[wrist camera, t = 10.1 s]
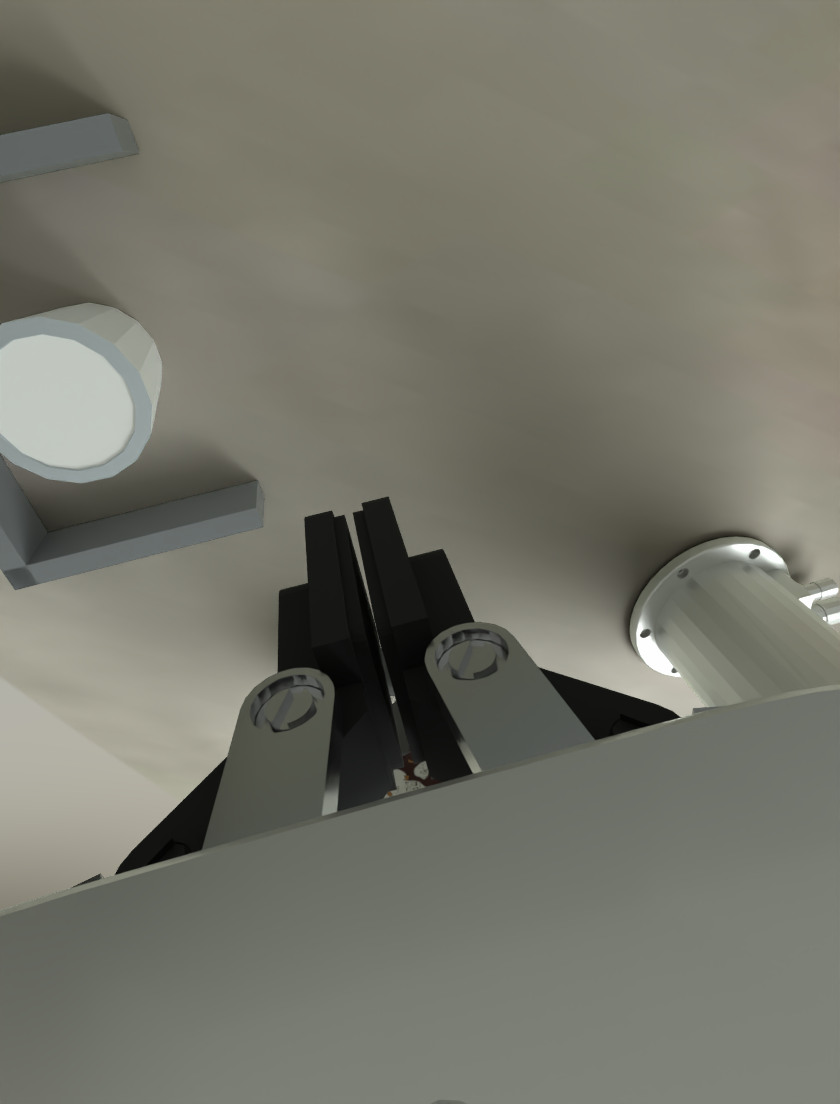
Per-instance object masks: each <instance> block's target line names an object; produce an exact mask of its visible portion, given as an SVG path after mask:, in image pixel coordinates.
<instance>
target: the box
mask: <svg viewBox="0 0 840 1104" xmlns="http://www.w3.org/2000/svg"><path fill="white" fill-rule="evenodd" d="M134 154H139V151H138V148H137V145H136V142H135V139H134V137H133V134H132V131H131V128H130V126H129V123H128V120H126V119H123V118H120V117H118V116H115V115H112V114H110V113H106V114H101V115H96V116H91V117H86V118H82V119H77V120H72V121H67V122H62V123H57V124H52V125H47V126H42V127H37V128H33V129H28V130H23V131H18V132H13V133H8V134H3V135H0V183H1V182H5V181H10V180H15V179H20V178H24V177H29V176H34V175H39V174H44V173H48V172H53V171H58V170H63V169H67V168H72V167H77V166H82V165H87V164H91V163H96V162H101V161H106V160H110V159H115V158H120V157H125V156H130V155H134ZM263 519H264V496H263V493H262V490H261V488H260V485H259V482H258V480H257V481H253V482H249V483H245V484H241V485H236V486H232V487H228V488H224V489H220V490H216V491H212V492H208V493H204V494H200V495H196V496H192V497H188V498H184V499H180V500H176V501H172V502H168V503H164V504H160V505H156V506H152V507H148V508H144V509H140V510H136V511H132V512H128V513H124V514H120V515H116V516H112V517H108V518H104V519H100V520H96V521H92V522H88V523H84V524H80V525H76V526H72V527H68V528H64V529H60V530H56V531H52V532H47V531H46V529H45V527H44V526H43V524H42V523H41V521H40V519H39V518H38V516H37V514H36V513H35V511H34V509H33V508H32V506H31V504H30V503H29V501H28V499H27V498H26V496H25V494H24V493H23V491H22V489H21V488H20V486H19V484H18V483H17V481H16V479H15V478H14V476H13V475H12V473H11V471H10V470H9V468H8V466H7V465H6V463H5V461H4V460H3V458H2V456H1V455H0V569H1V570H2V572H3V573H4V575H5V576H6V577H7V579H8V580H9V582H10V583H11V585H12V586H13V588H14V589H15V590H17V589H21V588H25V587H29V586H33V585H37V584H41V583H45V582H49V581H53V580H57V579H61V578H65V577H68V576H72V575H76V574H80V573H84V572H88V571H92V570H96V569H100V568H104V567H108V566H112V565H116V564H120V563H123V562H127V561H131V560H135V559H139V558H143V557H147V556H151V555H155V554H159V553H163V552H167V551H171V550H175V549H179V548H182V547H186V546H190V545H194V544H198V543H202V542H206V541H210V540H214V539H218V538H222V537H226V536H230V535H234V534H237V533H241V532H245V531H249V530H253V529H257V528H261V527H263Z"/></svg>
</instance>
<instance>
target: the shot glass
mask: <svg viewBox="0 0 840 1104" xmlns="http://www.w3.org/2000/svg"><path fill="white" fill-rule="evenodd" d="M161 381H162V360H161V358H160V355H159V352H158V350H157V347H156V344H155V342H154V340H153V339H152V338H151V336H150V335H149V334H148V333H147V332H146V330H145V329H144V328H143V327H142V326H141V325H140V323H139V322H138V321H137V320H135V319H133V318H131V317H130V316H128V315H126V314H125V313H123V312H121V311H120V310H118V309H116V308H115V307H110V306H105V305H100V304H95V303H90V302H89V303H83V304H78V305H73V306H67V307H63V308H59V309H55V310H51V311H47V312H44V313H40V314H36V315H32V316H28V317H24V318H20V319H16V320H13V321H9V322H5V323H2V324H0V453H1V454H3V455H4V456H5V457H6V458H7V459H8V460H9V461H11V462H12V463H13V464H15V465H17V466H19V467H22V468H24V469H26V470H28V471H30V472H33V473H35V474H37V475H39V476H41V477H44V478H46V479H51V480H59V481H67V482H74V483H86V482H91V481H96V480H100V479H105V478H110V477H114V476H115V475H116V474H118V473H119V472H121V471H122V470H124V469H125V468H126V467H128V466H129V465H131V464H132V463H134V462H135V461H137V460H138V458H139V456H140V454H141V452H142V450H143V449H144V447H145V445H146V443H147V441H148V440H149V438H150V436H151V432H152V428H153V423H154V418H155V413H156V408H157V403H158V398H159V393H160V388H161Z"/></svg>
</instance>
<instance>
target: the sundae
mask: <svg viewBox="0 0 840 1104" xmlns="http://www.w3.org/2000/svg"><path fill="white" fill-rule="evenodd" d="M381 653H382V658H383V663H384V668H385V673H386V678H387V683H388V688H389V693H390V696H395V694H394V691H393V687H392V683H391V680H390V676H389V673H388V669H387V666H386V662H385V658H384V655H383V651H381ZM392 707H393V712H394V717H395V722H396V727H397V732H398V737H399V742H400V746H401V751H402V756H403V761H404V767H402V768H399V769H395V770H393V771H394V777H395V782H396V788H397V790H394V791H390V792H388V793H387V794H386V795H385V797H384V798H383V799H385V798H388V797H392V796H395V795H399V794H403V793H406V792H410V791H413V790H417V789H421V788H424V787H428V786H431V785H435V784H439V783H442V782H441V781H438V780H436V779H433V780H431V777H430V775H429V772H428V768H427V764H426V761H424V762H420V763H417V764H414V762H413V759H412V755H411V751H410V748H409V744H408V741H407V737H406V734H405V730H404V726H403V723H402V719H401V716H400V712H399V708H398V705H397V701H396V702H394V703H393V704H392Z"/></svg>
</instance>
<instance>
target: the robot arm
mask: <svg viewBox="0 0 840 1104" xmlns="http://www.w3.org/2000/svg"><path fill="white" fill-rule="evenodd" d="M362 506H363V510H362V511H358V512H354V513H353V516H354V521H355V526H356V531H357V536H358V541H359V546H360V550H361V555H362V560H363V565H364V570H365V575H366V580H367V585H368V590H369V595H370V599H371V604H372V609H373V614H374V618H373V615H372V611H371V608H370V604H369V601H368V597H367V593H366V590H365V586H364V583H363V579H362V575H361V572H360V568H359V565H358V561H357V558H356V554H355V550H354V547H353V543H352V540H351V536H350V532H349V529H348V525H347V522H346V518H345V515H342V516H338V517H334V515H333V512H332V511H328V512H324V513H320V514H316V515H312V516H308V517H305V519H304V520H305V538H306V555H307V573H308V583H306V584H302V585H298V586H294V587H290V588H286V589H282V590H280V591H279V623H278V673H277V674H275V675H273V676H271V677H269V678H266V679H265V680H264V681H263V682H261V683H260V684H259V685H257V686H256V687H255V688H254V689H253V690H252V691H251V692H250V694H249V695H248V696H247V697H246V698H245V701H244V703H243V705H242V707H241V709H240V713H239V716H238V720H237V724H236V727H235V731H234V735H233V738H232V742H231V745H230V749H229V753H228V756H227V757H226V758H225V759H224V760H223V761H222V762H221V763H220V764H219V765H218V766H217V767H216V768H215V769H214V770H213V771H212V772H211V773H210V774H209V775H208V776H207V777H206V778H205V779H204V780H203V781H202V782H201V783H200V784H199V785H198V786H197V787H196V788H195V789H194V790H193V791H192V792H191V793H190V794H189V795H188V796H187V797H186V798H185V799H184V800H183V801H182V802H181V803H180V804H179V805H178V806H177V807H176V808H175V809H174V810H173V811H172V812H171V813H170V814H169V815H168V816H167V817H166V818H165V819H164V820H163V821H162V822H161V823H160V824H159V825H158V826H157V827H156V828H155V829H154V830H153V831H152V832H151V833H150V834H148V835H147V836H146V838H144V839H143V840H142V841H141V842H140V843H139V844H138V845H137V847H135V848H134V849H133V850H132V852H131V853H130V854H129V855H128V857H127V858H126V859H125V860H124V861H123V862H122V864H121V865H120V866H119V868H118V870H117V872H116V874H115V875H114V876H110V877H107V878H104V877H103V876H102V875H101V874H99V875H96V876H94V877H92V878H90V879H88V880H86V881H84V882H82V883H80V884H78V885H76V886H74V887H72V888H70V889H66V890H63V891H59V892H56V893H53V894H50V895H47V896H43V897H40V898H37V899H34V900H31V901H28V902H25V903H22V904H19V905H15V906H13V907H9V908H6V909H3V910H0V1104H840V632H838V631H837V630H836V629H835V628H834V627H832V626H831V625H833V624H836V623H840V598H838V597H833V598H829V599H826V600H822V601H818V602H815V603H812V601H814V600H821V599H824V598H828V597H832V596H835V595H837V593H838V587H837V584H836V583H835V582H834V580H833V579H830V578H827V579H823V580H820V581H816V582H812V583H810V584H808V585H805V586H803V585H802V584H798V583H796V582H795V581H794V580H793V579H791V578H790V575H789V571H788V567H787V565H786V563H785V562H784V560H783V558H782V557H781V556H780V555H779V554H778V553H777V552H775V551H774V550H773V549H772V548H770V547H769V546H767V545H766V544H764V543H763V542H761V541H758V540H755V539H752V538H748V537H737V536H735V537H725V538H719V539H715V540H711V541H708V542H705V543H702V544H700V545H698V546H695V547H693V548H691V549H689V550H687V551H686V552H684V553H682V554H681V555H679V556H677V557H676V558H674V559H673V560H672V561H670V562H669V563H668V564H667V565H665V566H664V567H663V568H662V569H661V570H660V571H659V572H658V573H657V574H656V575H655V576H654V577H653V578H652V579H651V580H650V581H649V583H648V584H647V586H646V587H645V588H644V590H643V591H642V593H641V594H640V596H639V598H638V600H637V602H636V604H635V606H634V609H633V613H632V616H631V620H630V637H631V643H632V645H633V647H634V649H635V651H636V653H637V654H638V655H639V657H640V658H641V659H642V660H643V662H644V663H645V664H646V665H647V666H649V667H650V668H651V669H652V670H655V671H657V672H659V673H661V674H665V675H669V676H681V677H682V678H683V679H684V681H685V682H686V683H687V684H688V685H689V687H690V688H691V689H692V690H693V692H694V693H695V694H696V695H697V697H698V698H699V699H700V700H701V702H702V703H703V704H704V705H705V707H704V708H693V713H692V715H689V716H685V717H679V716H678V715H677V714H676V713H674V712H673V711H671V710H668V709H666V708H664V707H662V706H659V705H657V704H654V703H650V702H647V701H644V700H641V699H638V698H635V697H631V696H628V695H625V694H622V693H619V692H615V691H612V690H609V689H606V688H603V687H599V686H596V685H593V684H590V683H587V682H584V681H580V680H577V679H574V678H571V677H568V676H564V675H561V674H558V673H555V672H552V671H548V670H545V669H542V668H539V667H538V666H537V665H536V664H535V663H534V661H533V660H532V659H531V658H530V656H529V655H528V654H527V652H526V651H525V650H524V649H523V647H522V646H521V645H520V643H519V642H518V641H517V640H516V638H515V637H514V636H513V635H512V634H511V633H509V632H508V631H507V630H506V629H504V628H502V627H499V626H497V625H495V624H490V623H484V622H474V619H473V617H472V615H471V612H470V610H469V608H468V605H467V603H466V601H465V598H464V596H463V594H462V591H461V589H460V587H459V585H458V582H457V580H456V578H455V575H454V573H453V571H452V568H451V566H450V564H449V561H448V559H447V557H446V554H445V552H444V550H443V549H440V550H436V551H432V552H428V553H424V554H420V555H416V556H412V557H408V555H407V552H406V549H405V546H404V542H403V539H402V536H401V533H400V530H399V527H398V524H397V521H396V518H395V515H394V512H393V509H392V506H391V503H390V500H389V497H385V498H381V499H377V500H372V501H368V502H364V503H362ZM374 619H375V622H374ZM375 624H376V626H375ZM376 628H377V630H376ZM377 632H378V634H377ZM378 636H379V639H378ZM379 640H380V644H381V648H382V651H383V655H384V658H385V662H386V666H387V669H388V673H389V676H390V680H391V683H392V687H393V691H394V694H395V698H396V701H397V705H398V708H399V712H400V716H401V719H402V723H403V726H404V730H405V734H406V737H407V741H408V744H409V748H410V751H411V755H412V759H413V762H414V764H417V763H420V762H424V761H426V764H427V768H428V772H429V775H430V777H431V780H433V779H436V780H438V781H441V782H442V783H439V784H435V785H431V786H428V787H424V788H421V789H417V790H413V791H410V792H406V793H403V794H399V795H395V796H392V797H388V798H385V799H383V798H384V797H385V795H386V794H387V793H388V792H390V791H394V790H397V788H396V782H395V777H394V771H393V770H395V769H399V768H402V767H404V761H403V756H402V751H401V746H400V742H399V737H398V732H397V727H396V722H395V717H394V712H393V707H392V702H391V697H390V693H389V688H388V683H387V678H386V673H385V668H384V663H383V658H382V653H381V648H380V644H379Z"/></svg>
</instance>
